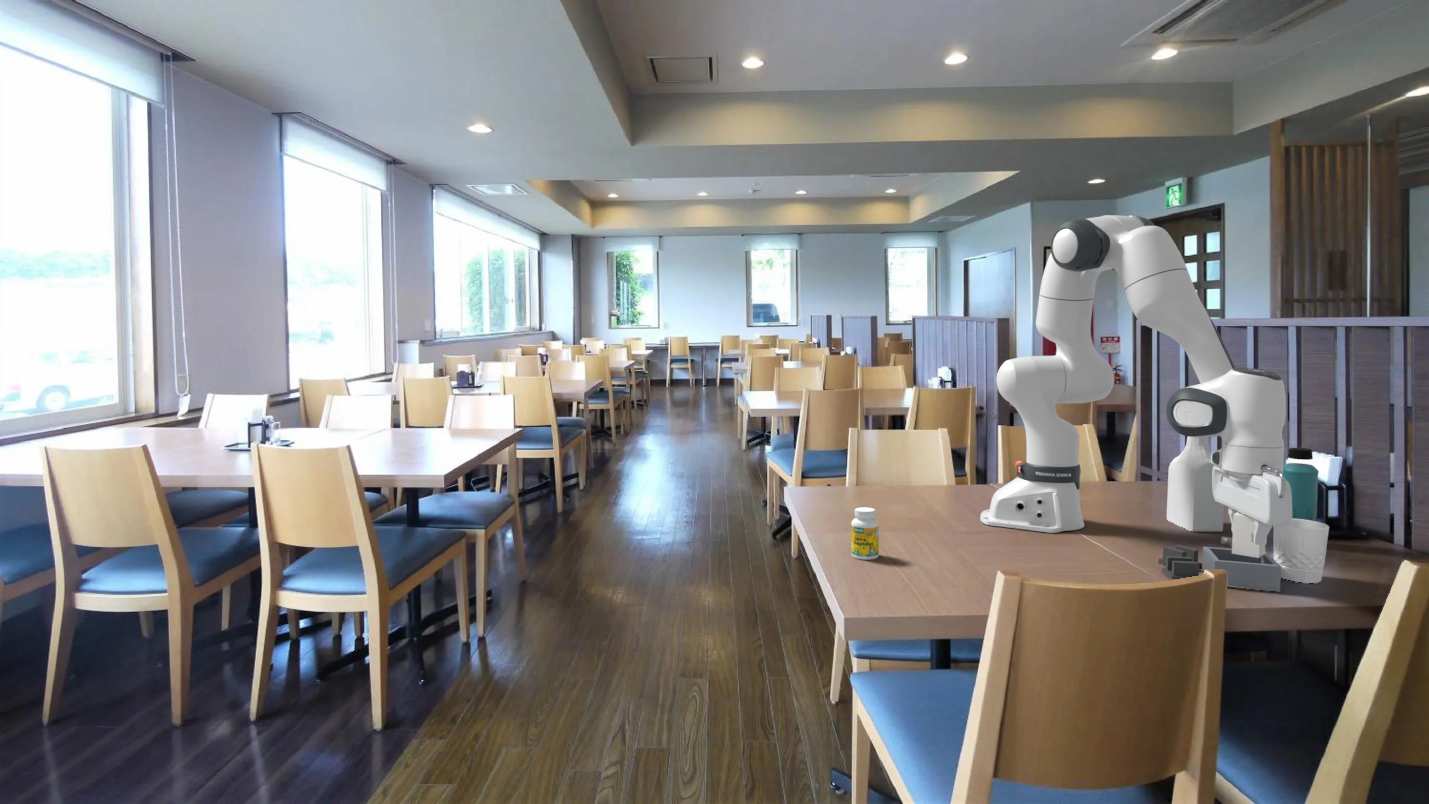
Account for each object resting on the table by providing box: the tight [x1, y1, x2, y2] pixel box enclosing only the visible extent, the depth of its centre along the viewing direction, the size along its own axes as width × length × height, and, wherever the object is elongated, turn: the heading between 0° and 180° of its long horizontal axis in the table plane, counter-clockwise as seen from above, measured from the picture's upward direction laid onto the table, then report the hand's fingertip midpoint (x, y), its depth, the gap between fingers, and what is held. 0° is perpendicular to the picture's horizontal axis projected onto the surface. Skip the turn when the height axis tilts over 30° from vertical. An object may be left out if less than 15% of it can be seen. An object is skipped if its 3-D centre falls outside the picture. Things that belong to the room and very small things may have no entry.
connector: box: [1220, 512, 1266, 558], centre depth 135 cm, size 6×4×7 cm, turn 42°
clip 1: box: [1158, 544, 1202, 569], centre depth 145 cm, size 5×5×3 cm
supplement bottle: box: [850, 506, 880, 561], centre depth 153 cm, size 5×5×10 cm
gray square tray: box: [1201, 546, 1281, 593], centre depth 136 cm, size 10×10×4 cm
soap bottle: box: [1166, 436, 1225, 533], centre depth 173 cm, size 11×8×27 cm
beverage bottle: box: [1282, 447, 1319, 522], centre depth 159 cm, size 6×7×20 cm
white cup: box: [1272, 518, 1330, 584], centre depth 137 cm, size 8×8×10 cm
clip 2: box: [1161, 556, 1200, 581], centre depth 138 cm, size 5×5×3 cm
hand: (1248, 538), depth 135 cm, fingers closed on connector, 6 cm apart
